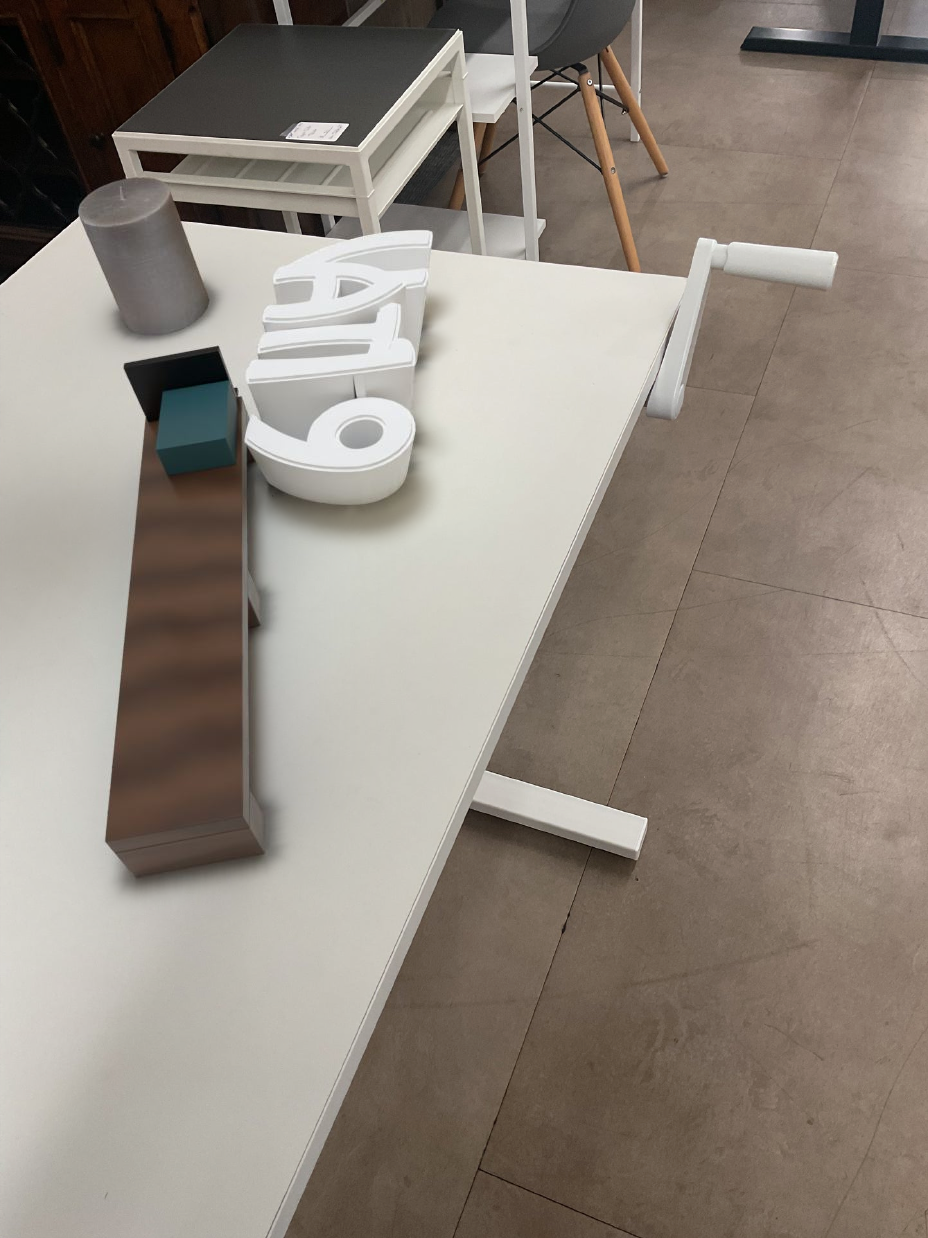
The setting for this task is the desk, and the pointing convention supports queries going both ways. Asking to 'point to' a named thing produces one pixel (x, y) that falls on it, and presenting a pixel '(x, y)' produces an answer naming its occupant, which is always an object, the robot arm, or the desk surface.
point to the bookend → (174, 376)
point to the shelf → (186, 673)
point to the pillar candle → (144, 255)
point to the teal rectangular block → (198, 428)
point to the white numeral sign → (341, 369)
